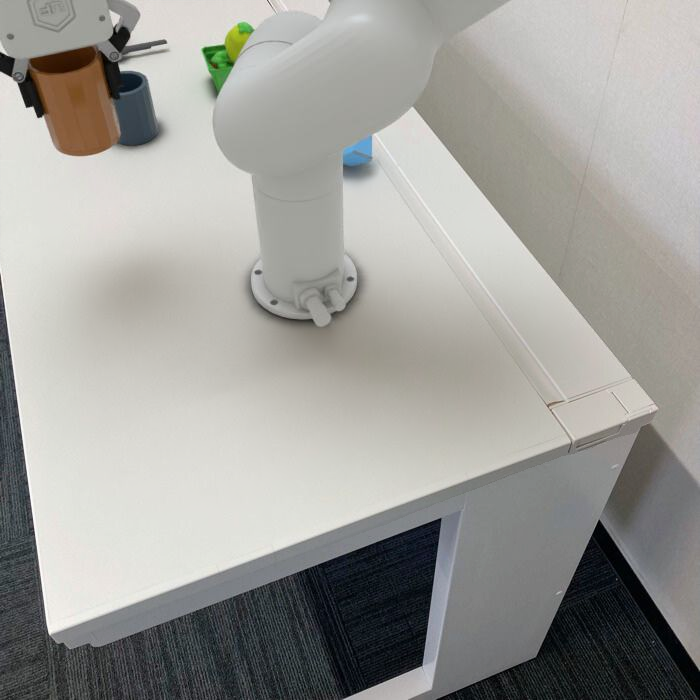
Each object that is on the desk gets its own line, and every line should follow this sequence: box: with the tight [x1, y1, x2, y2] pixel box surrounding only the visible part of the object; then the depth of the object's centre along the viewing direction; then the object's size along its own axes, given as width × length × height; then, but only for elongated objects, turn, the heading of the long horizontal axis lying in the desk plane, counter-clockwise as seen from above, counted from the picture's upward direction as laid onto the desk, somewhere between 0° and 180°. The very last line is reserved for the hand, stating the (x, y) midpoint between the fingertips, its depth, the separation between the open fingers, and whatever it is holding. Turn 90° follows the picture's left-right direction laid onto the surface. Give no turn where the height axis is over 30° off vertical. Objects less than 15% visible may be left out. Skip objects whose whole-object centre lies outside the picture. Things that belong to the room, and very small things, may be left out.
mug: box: [112, 70, 159, 146], centre depth 111 cm, size 10×7×8 cm
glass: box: [27, 45, 121, 157], centre depth 78 cm, size 7×7×9 cm
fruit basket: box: [200, 21, 255, 95], centre depth 118 cm, size 11×9×11 cm
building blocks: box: [343, 135, 374, 167], centre depth 107 cm, size 8×8×12 cm
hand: (76, 101), depth 78 cm, fingers closed on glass, 7 cm apart
